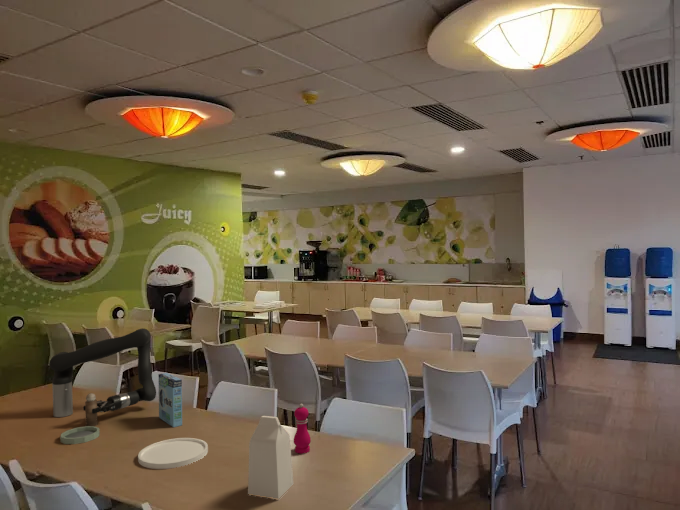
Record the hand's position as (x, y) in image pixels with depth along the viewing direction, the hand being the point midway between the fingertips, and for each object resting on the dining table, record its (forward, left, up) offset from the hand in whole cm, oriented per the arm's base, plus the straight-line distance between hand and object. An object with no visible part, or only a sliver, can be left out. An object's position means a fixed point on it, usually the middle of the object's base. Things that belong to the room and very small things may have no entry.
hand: (87, 410), depth 254 cm
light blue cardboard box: (+30, +27, -8) cm, 41 cm away
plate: (+68, +2, -9) cm, 69 cm away
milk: (+125, +2, -8) cm, 125 cm away
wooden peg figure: (0, +2, -8) cm, 8 cm away
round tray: (+13, -10, -8) cm, 18 cm away
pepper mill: (+111, +35, -8) cm, 117 cm away
